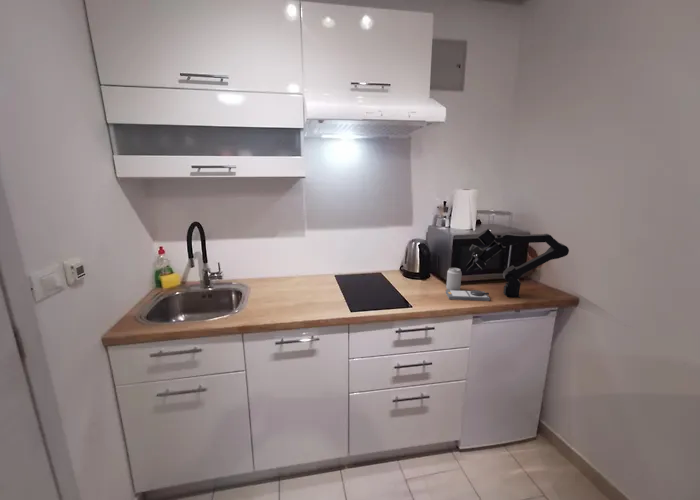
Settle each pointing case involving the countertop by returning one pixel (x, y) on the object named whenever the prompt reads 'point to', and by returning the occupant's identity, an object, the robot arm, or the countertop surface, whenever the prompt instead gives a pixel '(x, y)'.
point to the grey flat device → (467, 295)
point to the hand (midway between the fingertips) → (466, 269)
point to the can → (453, 279)
